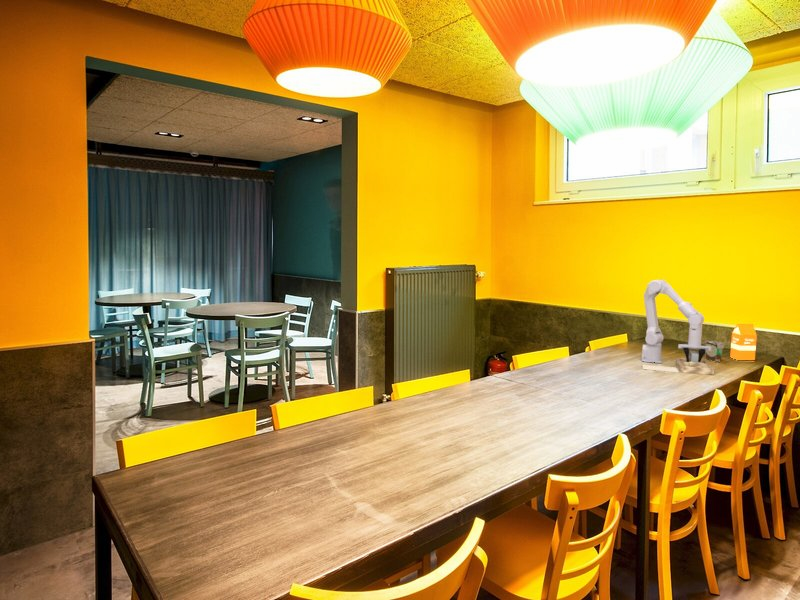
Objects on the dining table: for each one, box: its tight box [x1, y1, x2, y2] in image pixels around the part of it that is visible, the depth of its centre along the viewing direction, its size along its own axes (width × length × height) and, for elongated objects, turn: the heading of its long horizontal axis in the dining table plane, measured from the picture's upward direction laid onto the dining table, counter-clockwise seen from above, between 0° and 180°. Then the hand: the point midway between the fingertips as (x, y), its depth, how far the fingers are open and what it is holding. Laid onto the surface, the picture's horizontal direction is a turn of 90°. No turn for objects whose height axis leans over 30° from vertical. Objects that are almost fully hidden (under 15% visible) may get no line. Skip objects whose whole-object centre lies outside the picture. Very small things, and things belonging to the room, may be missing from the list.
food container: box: [704, 340, 725, 363], centre depth 285 cm, size 12×6×10 cm, turn 179°
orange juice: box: [729, 323, 757, 361], centre depth 287 cm, size 8×9×20 cm
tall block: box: [689, 350, 699, 362], centre depth 268 cm, size 3×9×8 cm, turn 158°
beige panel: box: [641, 364, 680, 374], centre depth 265 cm, size 16×10×1 cm, turn 68°
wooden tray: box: [675, 357, 715, 375], centre depth 266 cm, size 14×22×4 cm, turn 158°
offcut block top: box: [689, 362, 701, 368], centre depth 259 cm, size 5×4×2 cm
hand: (693, 363), depth 268 cm, fingers open, 4 cm apart
